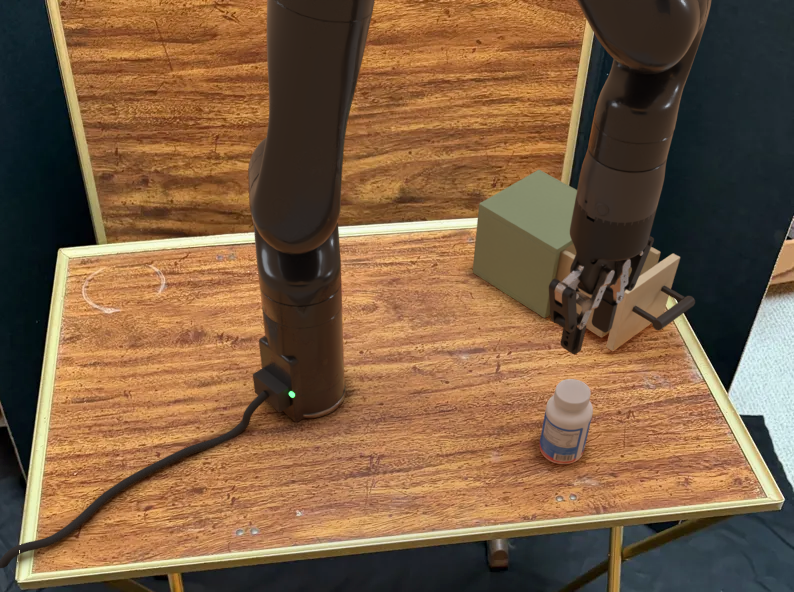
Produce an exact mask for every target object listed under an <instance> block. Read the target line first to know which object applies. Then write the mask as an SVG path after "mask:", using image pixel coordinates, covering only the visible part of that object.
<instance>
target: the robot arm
mask: <svg viewBox="0 0 794 592" xmlns="http://www.w3.org/2000/svg"><path fill="white" fill-rule="evenodd" d="M575 1H576V3H577V4H578V6H579V8H580V10H581V12H582V14H583V16H584V18H585V20H586V21H587V23H588V25H589V27H590V29H591V31H592V32H593V34H594V35H595V37H596V39H597V41H598V42H599V44H601V46H602V47H603V48H604V50H605V51H606V52H607V54H608V55H610V57H612V58H613V61H612V64H611V69H610V71H609V73H608V76H607V78H606V80H605V83H604V85H603V86H602V89H601V91H600V93H599V96H598V99H597V102H596V105H595V110H594V115H593V118H592V123H591V129H590V135H589V140H588V146H587V150H586V153H585V156H584V159H583V162H582V164H581V167H580V168H581V169H580V173H579V178H578V184H577V189H576V190H577V194H576V199H575V204H574V210H573V215H572V221H571V226H570V237H571V240H572V242H573V244H574V247H575V249H576V255H575V258H574V260H573V262H572V264H571V267H570V274H569V275H568V276H567V277H566V278H565V279H564V280H563V281H562V282H561V281H559V280H558V279H556V278H555V279H553V280H552V281H551V283H550V285H549V302H550V315H549V316H550V317H549V318H550V321H551V322H552V323H554V324H556V325H558V326H559V327H560V328H562V333H561V338H560V346H561V347H562V348H563V350H566V351H567V352H568V353H570V354H572V355H577V354H579V353H581V351H582V349H583V343H584V339H585V334H586V329H587V328H586V323H587V321H588V318H589V316H590V313H591V311H592V309H594V313H593V317H592V324H593V326H594V327H596V328H598V329H599V330H601V331H602V332H604V333H606V332H608V331H609V330H611V329H612V325H613V321H614V317H615V313H616V309H617V305H618V303H620V302H621V301H622V299H623V298H624V292H625V291H626V290H628V291H631V290H632V289H633V288H634V287H635V285H636V283H637V280H638V278H639V275H640V273H641V270H642V268H643V266H644V263H645V261H646V258H647V256H648V254H649V251H650V249H651V247H652V246H653V244H654V241H655V238H654V237H652V236H651V232H652V229H653V225H654V221H655V217H656V213H657V209H658V206H659V202H660V197H661V194H662V191H663V186H664V182H665V175H666V166H667V160H668V155H669V151H670V147H671V144H672V139H673V136H674V131H675V129H676V125H677V121H678V120H677V119H678V113H679V109H680V103H681V99H682V95H683V91H684V88H685V85H686V84H687V83H686V82H687V80H688V77H689V75H690V71H691V69H692V66H693V63H694V60H695V58H696V54H697V51H698V49H699V46H700V43H701V40H702V37H703V34H704V30H705V27H706V25H707V20H708V17H709V13H710V10H711V5H712V0H575ZM375 2H376V0H266V64H267V65H266V66H267V84H268V121H267V128H266V129H267V130H266V137H265V138H263V139H262V140H261V141H260V142H259V143H258V145H257V146H256V147H255V149H254V150H253V152H252V154H251V156H250V159H249V162H248V167H247V169H248V170H247V180H248V181H247V183H248V204H249V212H250V216H251V218H252V223H253V233H254V246H255V258H256V268H257V269H256V270H257V276H258V284H259V292H260V300H261V310H262V318H263V319H262V320H263V329H264V335H263V336H261V337H259V338H258V347H259V348H258V349H259V355H260V363H261V368H260V369H258V370H257V371H255V372H254V373H252V380H253V387H254V393H255V394H256V395H257V396H256V397H255V398H254V399H253V400H252V401H251V402H250V403H249V405H248V406H247V407H246V409H244V412H243V415H242V418H241V420H240V422H239V423H238V424H237V425H236V426H234V427H233V428H232V429H230V430H228V431H227V432H226V433H224V434H221V435H219V436H217V437H214V438H211V439H208V440H205V441H201V442H198V443H195V444H192V445H189V446H187V447H184V448H182V449H180V450H178V451H176V452H174V453H172V454H170V455H167V456H166V457H163V458H162V459H160V460H159V459H158V461H155V462H153V463H152V464H149V465H147V466H145V467H144V468H141V469H140V470H138V471H136V472H134V473H133V474H131V475H129V476H127V477H125V478H124V479H122V480H121V481H120V482H118V483H115V484H114V485H113V486H111V487H110V488H109V489H107V490H106V491H105V492H104V493H102V494H101V495H99V497H97V498H96V499H95V500H93V501H92V503H90V504H89V505H88V506H87V507H86V508H85V509H84V510H83V511H81V513H80V514H79V515H78V516H77V517H76V518H74V519H73V520H72V521H70V522H69V523H68V524H67V525H65V526H64V527H63V528H61V529H59V530H58V531H56V532H55V533H52V534H51V535H49V536H46V537H44V538H40V539H36V540H32V541H27V542H24V543H20V544H21V545H20V544H17V545H15V546H13V547H12V548H9V550H7V551H6V552H5V553H4V554H3V556H2V557H1V558H0V569H4V568H6V567H7V566H8V565H9V564H10V563H11V561H13V559H14V558H16V557H17V556H20V555H22V554H24V553H28V552H31V551H36V550H39V549H45V548H47V547H50V546H53V545H55V544H57V543H59V542H60V541H62V540H64V539H66V537H69V536H70V535H72V534H73V533H74V532H75V531H77V530H78V529H79V528H81V526H82V525H84V523H86V522H87V521H88V520H89V519H90V518H91V517H92V516H93V515H94V514H95V513H96V512H97V511H98V510H99V509H101V507H103V506H104V505H105V504H106V503H107V502H109V501H110V500H111V499H113V498H115V496H117V495H118V494H120V493H121V492H123V491H124V490H126V489H128V488H129V487H131V486H132V485H134V484H136V483H137V482H139V481H141V480H143V479H144V478H146V477H149V476H151V475H152V474H154V473H156V472H158V471H160V470H162V469H164V468H166V467H168V466H170V465H172V464H174V463H176V462H178V461H180V460H182V459H184V458H187V457H188V456H191V455H194V454H196V453H200V452H203V451H206V450H209V449H211V448H214V447H215V446H218V445H220V444H222V443H225V442H228V441H230V440H232V439H234V438H236V437H237V436H239V435H241V434H242V433H243V432H244V431H245V430H246V429H247V428H248V427H249V426H250V422H251V418H252V416H253V414H254V413H255V412H256V410H257V409H258V408H259V407H260V406H261V405H262V404H263V403H264V402H266V403H267V404H268V405H269V406H271V407H272V408H273V409H274V410H275V411H276V412H278V413H284V414H285V415H286V416H287V417H288V418H290V419H291V420H292V421H294V422H295V423H298V422H300V421H301V420H303V419H314V418H321V417H323V416H326V415H329V414H330V413H332V412H334V411H335V410H337V409H338V408H339V407H340V406H341V405H342V403H343V402H344V400H345V397H346V393H347V391H346V390H347V388H346V381H345V357H344V356H345V351H344V350H345V349H344V321H343V320H344V319H343V318H344V317H343V285H342V284H343V281H342V258H341V257H342V256H341V244H340V231H339V220H340V216H341V210H342V209H341V208H342V183H343V182H342V181H343V167H344V166H343V165H344V152H345V142H346V133H347V127H348V121H349V117H350V112H351V108H352V104H353V102H354V101H353V100H354V96H355V93H356V89H357V86H358V85H357V84H358V81H359V77H360V72H361V68H362V63H363V58H364V54H365V49H366V45H367V40H368V36H369V31H370V26H371V22H372V17H373V13H374V7H375ZM630 267H631V268H632V271H631V274H630V276H628V269H629V268H630ZM579 289H581V290H582V291H584V292H586V293H587V294H590V295H592V297H591V298H590V297H588V296H587V295H585V294H583V293H582V292H580V291H579ZM576 303H577V304H578V305H580V306H581V307H582V311H581V313H580V314H578V313H577V307H576ZM19 550H20V554H19Z"/></svg>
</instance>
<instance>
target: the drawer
mask: <svg viewBox="0 0 794 592" xmlns="http://www.w3.org/2000/svg"><path fill="white" fill-rule="evenodd" d="M575 255H576V249H575V247H574V244H572V245H570V246H569V247H567V248H566V249H564V250H563V251H561V252H560V256H559V261H558V267H557V272H556V279H558V280H559V281H561V282H562V281H563V280H564V279H565V278H566V277H567V276H568V275H569V274H570V267H571V264H572V262H573V260H574V258H575ZM660 257H661V251H660V250H658V249H656V248H654V247H652V246H651V249H650V251H649V254H648V256H647V258H646V261H645V263H644V266H643V268H642V270H641V273H640V275H639V278H638V280H637V283H636V285H635V287H634V288H633V289H632V290H631V291H628V290H626V291H625V292H624V298H623V299H622V301H621V302H620V303H618V305H617V309H616V313H615V317H614V321H613V325H612V329H611V330H609V331H608V332H606V333H604V332H602V331H601V330H599V329H598V328H596V327H594V326H593V324H592V317H593V313H594V309H592V311H591V313H590V316H589V318H588V321H587V323H586V329H587V330H588V331H590V332H592V333H593V334H595V335H596V336H598V337H599V338H601V339H602V338H604V337H605V336H606V335H608V337H607V341H606V344H605V345H606V346H605V348H607V349H608V350H609V351H612V352H614V351H616V350H617V349H618V348H620V347H621V346H623V345H624V344H625V343H627V342H628V341H630V340H631V339H632V338H634V337H635V336H636V335H638V334H639V333H640V332H642V331H643V330H645V329H646V328H647V327H649V326H650V325H652V327H653V329H654V330H656V331H662V330H664V328H666V327H667V326H668V325H670V324H671V323H672V322H674V321H676V319H678V318H679V317H680V316H682V315H683V314H685V313H686V312H688V311H689V310H690V309H691V308H693V307H694V306H695V304H696V300H695V298H694V297H693V296H692V295H686V296H684V295H682V294H680V293H678V292H677V291H675V290H673V289H672V287H673V283H674V281H675V280H674V279H675V276H676V274H677V270H678V267H679V264H680V260H681V256H679V255H677V254H675V253H671V254H669V255H668V256H667V257H665V258H664V259H662V260H661V261H659V259H660ZM631 271H632V268H631V267H630V268H629V269H628V276H630V274H631ZM579 291H580V292H582V293H583V294H585V295H587V296H588V297H590V298H591V297H592V295H590V294H587V293H586V292H584V291H582V290H581V289H579ZM669 297H671V298H672V299H674V300H676V301H677V302H676V303H675V304H674V305H672V306H671V307H669V309H667V310H666V307H667V303H668V300H669ZM576 307H577V313H578V314H580V313H581V311H582V307H581V306H580V305H578V304H577V303H576ZM665 310H666V311H665Z"/></svg>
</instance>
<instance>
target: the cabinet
mask: <svg viewBox="0 0 794 592" xmlns="http://www.w3.org/2000/svg"><path fill="white" fill-rule="evenodd" d="M576 194H577V189H576V188H574V187H572V186H570V185H568V184H566V183H565V182H563V181H561V180H559V179H558V178H556V177H554V176H552V175H550V174H548V173H546V172H544V171H543V170H541V169H537V170H536V171H534V172H532V173H530V174H528V175H526V176H524V177H523V178H521V179H520V180H518V181H516V182H514V183H513V184H511V185H509V186H507V187H506V188H504V189H502V190H500V191H499V192H497V193H495V194H493V195H492V196H489V197H488V198H486V199H485V200H483V201H481V202H479V203H478V211H477V222H476V233H475V243H474V252H473V262H472V274H474V275H475V276H477V277H479V278H480V279H482V280H483V281H485V282H487V283H488V284H490V285H491V286H493V287H495V288H496V289H497V290H499V291H501V292H502V293H504V294H505V295H507V296H509V297H510V298H512V299H513V300H515V301H517V302H518V303H520V304H521V305H523V306H525V307H526V308H527V309H529V310H531V311H532V312H534V313H535V314H538V316H540V317H542V318H543V319H547V318H548V317H549V316H550V302H549V285H550V283H551V281H552V280H553V279H555V278H556V272H557V267H558V261H559V256H560V252H561V251H563V250H564V249H566V248H567V247H569V246H570V245H572V244H573V242H572V240H571V237H570V226H571V221H572V215H573V210H574V204H575V199H576Z"/></svg>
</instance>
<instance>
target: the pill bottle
mask: <svg viewBox="0 0 794 592" xmlns="http://www.w3.org/2000/svg"><path fill="white" fill-rule="evenodd" d="M591 393H592V391H591V388H590V386H589V385H588V384H587V383H585V382H584V381H582V380H579V379H576V378H567V379H563V380H561V381H559V382H558V383H557V384H556V386H555V389H554V393H553V394H552V396H550V398H549V399H548V400H547V403H546V406H545V410H544V416H543V421H542V426H541V432H540V438H539V450H540V453H541V454H542V456H543V457H544V458H545V459H546V460H548V461H549V462H550V463H551V462H552V463H554V464H558V465H569V464H570V465H571V464H573V463H576V462H577V461H578V460H580V459H581V458H582V456H583V454H584V452H585V448H586V444H587V441H588V436H589V432H590V428H591V423H592V418H593V414H594V406H593V403H592V402H591Z"/></svg>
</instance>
